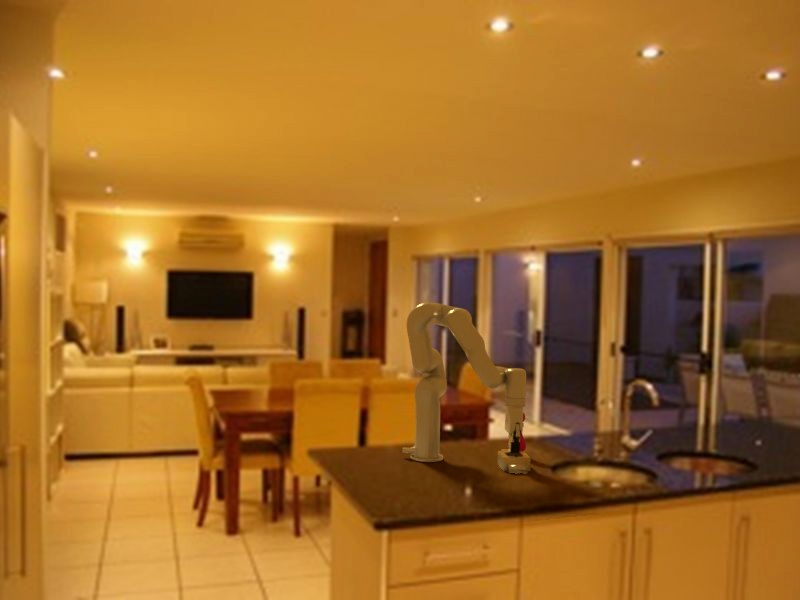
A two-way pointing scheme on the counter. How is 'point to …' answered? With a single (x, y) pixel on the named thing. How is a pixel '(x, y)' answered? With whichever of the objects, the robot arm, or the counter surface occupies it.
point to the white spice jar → (510, 446)
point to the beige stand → (514, 462)
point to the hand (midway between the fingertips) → (513, 451)
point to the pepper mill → (522, 439)
